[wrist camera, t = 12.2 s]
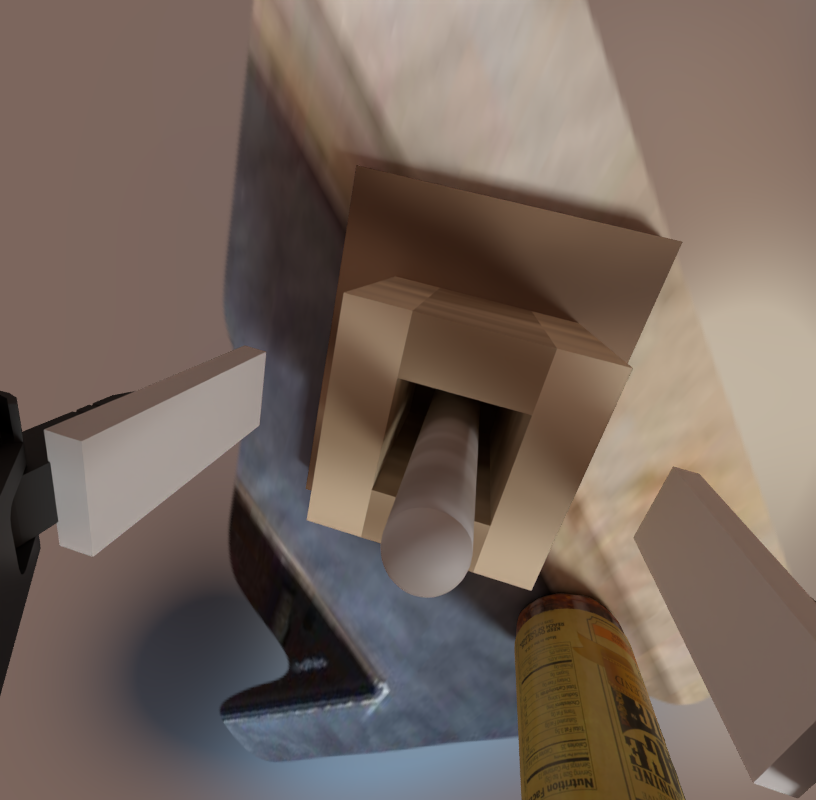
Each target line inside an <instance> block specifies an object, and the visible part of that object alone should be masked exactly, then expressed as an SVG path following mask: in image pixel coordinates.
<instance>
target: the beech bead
mask: <svg viewBox="0 0 816 800" xmlns="http://www.w3.org/2000/svg"><path fill="white" fill-rule="evenodd" d="M632 369H633V368H632V367H631V366H629V365H628V364H627V363H626V362H625V361H623V360H622V359H621V358H620V357H619V356H617V355H616V354H615V353H614V352H613V351H611V350H610V349H609V348H608V347H607V346H605V345H604V344H603V343H602V342H601V341H599V340H598V339H597V338H596V337H595V336H593V335H592V334H591V333H590V332H589V331H587V330H586V329H585V328H584V327H583V326H581V325H580V324H579V323H576V322H572V321H568V320H564V319H560V318H556V317H553V316H549V315H545V314H541V313H537V312H533V311H529V310H525V309H521V308H517V307H513V306H509V305H506V304H502V303H498V302H494V301H490V300H486V299H482V298H478V297H474V296H470V295H466V294H462V293H459V292H455V291H451V290H447V289H443V288H439V287H435V286H431V285H427V284H423V283H419V282H415V281H412V280H408V279H404V278H400V277H392V278H389V279H386V280H383V281H379V282H376V283H373V284H370V285H367V286H363V287H360V288H357V289H354V290H350V291H347V292H344V294H343V300H342V306H341V312H340V318H339V325H338V331H337V337H336V343H335V349H334V355H333V362H332V368H331V374H330V380H329V386H328V393H327V399H326V405H325V411H324V417H323V424H322V430H321V436H320V442H319V448H318V454H317V461H316V467H315V473H314V479H313V485H312V492H311V498H310V504H309V510H308V516H307V520H308V521H311V522H314V523H318V524H321V525H324V526H327V527H330V528H333V529H337V530H340V531H343V532H346V533H349V534H353V535H356V536H359V537H362V538H365V539H368V540H372V541H375V542H378V543H381V539H382V534H383V531H384V528H385V525H386V523H387V520H388V517H389V515H390V512H391V509H392V506H393V504H394V501H395V498H396V496H397V493H398V490H399V487H400V485H401V482H402V479H403V477H404V474H405V471H406V469H407V466H408V463H409V460H410V458H411V455H412V452H413V450H414V447H415V444H416V441H417V439H418V436H419V433H420V431H421V428H422V425H423V423H424V420H425V417H426V416H422V415H419V414H415V413H412V412H409V411H410V407H411V403H412V399H413V395H414V391H415V387H416V383H418V384H421V385H425V386H428V387H432V388H436V389H439V390H443V391H446V392H450V393H454V394H457V395H461V396H464V397H468V398H472V399H475V400H479V401H482V402H486V403H490V404H493V405H497V406H499V409H498V412H497V415H496V418H495V421H494V424H493V427H492V429H491V432H490V435H489V434H486V433H482V432H479V438H478V458H477V478H476V498H475V518H474V538H473V554H472V559H471V564H470V567H469V569H468V571H470V572H473V573H476V574H480V575H483V576H486V577H489V578H492V579H495V580H499V581H502V582H505V583H508V584H511V585H514V586H518V587H521V588H524V589H527V590H530V591H531V590H532V588H533V586H534V584H535V582H536V580H537V577H538V575H539V573H540V571H541V569H542V566H543V564H544V562H545V560H546V558H547V555H548V553H549V551H550V549H551V547H552V544H553V542H554V540H555V538H556V536H557V534H558V531H559V529H560V527H561V525H562V523H563V520H564V518H565V516H566V514H567V512H568V509H569V507H570V505H571V503H572V501H573V499H574V496H575V494H576V492H577V490H578V488H579V485H580V483H581V481H582V479H583V477H584V474H585V472H586V470H587V468H588V466H589V463H590V461H591V459H592V457H593V455H594V453H595V450H596V448H597V446H598V444H599V442H600V439H601V437H602V435H603V433H604V431H605V428H606V426H607V424H608V422H609V420H610V418H611V415H612V413H613V411H614V409H615V407H616V404H617V402H618V400H619V398H620V396H621V393H622V391H623V389H624V387H625V385H626V382H627V380H628V378H629V376H630V374H631V372H632Z"/></svg>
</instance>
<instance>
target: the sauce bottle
mask: <svg viewBox="0 0 816 800" xmlns="http://www.w3.org/2000/svg"><path fill="white" fill-rule="evenodd" d="M515 669H516V690H517V712H518V734H519V756H520V777H521V796H522V800H686V799H685V797H684V794H683V791H682V788H681V786H680V783H679V780H678V776H677V773H676V771H675V768H674V766H673V764H672V761H671V758H670V755H669V752H668V749H667V747H666V743H665V739H664V737H663V735H662V732H661V729H660V727H659V724H658V722H657V718H656V716H655V713H654V710H653V707H652V704H651V702H650V699H649V696H648V693H647V690H646V687H645V685H644V682H643V679H642V676H641V674H640V671H639V668H638V665H637V662H636V659H635V657H634V654H633V651H632V648H631V645H630V643H629V641H628V639H627V637H626V636H625V635H624V632H623V630H622V628H621V626H620V624H619V622H618V621H617V620H616V619H615V617H614V616H613V615H612V614H611V613H610V612H609V611H608V610H607V609H606V608H605V607H603V606H602V605H600V604H599V603H598V602H597V601H595V600H594V599H592V598H590V597H587V596H584V595H572V594H562V593H557V594H553V595H547V596H544V597H541V598H538V599H537V600H535V601H534V602H533V603H530V604H528V606H527V607H526V608H525V609H523V610H522V611H521V613H520V615H519V618H518V622H517V629H516V640H515Z"/></svg>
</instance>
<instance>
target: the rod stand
mask: <svg viewBox="0 0 816 800" xmlns="http://www.w3.org/2000/svg"><path fill="white" fill-rule="evenodd" d="M681 244H682V242H681V241H677V240H673V239H668V238H664V237H660V236H656V235H651V234H647V233H643V232H639V231H634V230H630V229H626V228H622V227H617V226H613V225H609V224H605V223H600V222H596V221H592V220H588V219H583V218H579V217H575V216H571V215H566V214H562V213H558V212H554V211H549V210H545V209H541V208H537V207H532V206H528V205H524V204H520V203H515V202H511V201H507V200H503V199H498V198H494V197H490V196H486V195H481V194H477V193H473V192H469V191H464V190H460V189H456V188H452V187H447V186H443V185H439V184H435V183H430V182H426V181H422V180H418V179H413V178H409V177H405V176H401V175H396V174H392V173H388V172H383V171H379V170H375V169H371V168H366V167H362V166H358V165H357V166H356V172H355V178H354V185H353V191H352V198H351V204H350V210H349V217H348V223H347V229H346V236H345V242H344V249H343V255H342V261H341V268H340V274H339V280H338V287H337V293H336V300H335V306H334V312H333V319H332V325H331V331H330V338H329V344H328V350H327V357H326V363H325V370H324V376H323V382H322V389H321V395H320V401H319V408H318V414H317V421H316V427H315V433H314V440H313V446H312V452H311V459H310V465H309V472H308V478H307V484H306V489H308V490H311V491H312V485H313V479H314V473H315V467H316V461H317V454H318V448H319V442H320V436H321V430H322V424H323V417H324V411H325V405H326V399H327V393H328V386H329V380H330V374H331V368H332V362H333V355H334V349H335V343H336V337H337V331H338V325H339V318H340V312H341V306H342V300H343V294H344V292H347V291H350V290H354V289H357V288H360V287H363V286H367V285H370V284H373V283H376V282H379V281H383V280H386V279H389V278H392V277H400V278H404V279H408V280H412V281H415V282H419V283H423V284H427V285H431V286H435V287H439V288H443V289H447V290H451V291H455V292H459V293H462V294H466V295H470V296H474V297H478V298H482V299H486V300H490V301H494V302H498V303H502V304H506V305H509V306H513V307H517V308H521V309H525V310H529V311H533V312H537V313H541V314H545V315H549V316H553V317H556V318H560V319H564V320H568V321H572V322H576V323H579V324H580V325H581V326H583V327H584V328H585V329H586V330H587V331H589V332H590V333H591V334H592V335H593V336H595V337H596V338H597V339H598V340H599V341H601V342H602V343H603V344H604V345H605V346H607V347H608V348H609V349H610V350H611V351H613V352H614V353H615V354H616V355H617V356H619V357H620V358H621V359H622V360H623V361H625V362H626V363H627V364H628V361H629V359H630V357H631V355H632V353H633V350H634V348H635V346H636V344H637V342H638V339H639V337H640V335H641V333H642V330H643V328H644V326H645V324H646V322H647V319H648V317H649V315H650V313H651V311H652V308H653V306H654V304H655V302H656V299H657V297H658V295H659V293H660V291H661V288H662V286H663V284H664V282H665V279H666V277H667V275H668V273H669V271H670V268H671V266H672V264H673V262H674V260H675V257H676V255H677V253H678V251H679V248H680V246H681ZM498 409H499V406H497V405H493V404H490V403H486V402H482V401H479V400H475V399H472V398H468V397H464V396H461V395H457V394H454V393H450V392H446V391H443V390H439V389H436V388H432V387H428V386H425V385H421V384H418V383H416V387H415V391H414V395H413V399H412V403H411V407H410V411H409V412H412V413H415V414H419V415H422V416H426V417H425V420H424V423H423V425H422V428H421V431H420V433H419V436H418V439H417V441H416V444H415V447H414V450H413V452H412V455H411V458H410V460H409V463H408V466H407V469H406V471H405V474H404V477H403V479H402V482H401V485H400V487H399V490H398V493H397V496H396V498H395V501H394V504H393V506H392V509H391V512H390V515H389V517H388V520H387V523H386V525H385V528H384V531H383V534H382V539H381V556H382V561H383V564H384V567H385V569H386V572H387V573H388V575H389V577H390V578H391V579H392V580H393V582H394V583H395V584H396V585H397V586H398V587H400V588H401V589H402V590H404V591H405V592H407V593H409V594H412V595H414V596H419V597H436V596H440V595H443V594H445V593H447V592H449V591H451V590H452V589H454V588H455V587H456V586H457V585H458V584H459V583H460V582H461V581H462V580H463V579H464V577H465V575H466V573H467V571H468V569H469V567H470V564H471V559H472V554H473V538H474V518H475V498H476V478H477V458H478V438H479V432H482V433H486V434H489V435H490V432H491V429H492V427H493V424H494V421H495V418H496V415H497V412H498Z"/></svg>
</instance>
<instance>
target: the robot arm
mask: <svg viewBox="0 0 816 800" xmlns="http://www.w3.org/2000/svg"><path fill="white" fill-rule="evenodd" d="M265 359H266V352H265V351H262V350H258V349H255V348H251V347H248V346H242V347H240V348H238V349H235V350H233V351H230V352H228V353H226V354H223V355H221V356H219V357H216V358H214V359H211V360H209V361H207V362H205V363H202V364H199V365H197V366H195V367H192V368H190V369H188V370H185V371H183V372H180V373H178V374H175V375H173V376H171V377H168V378H166V379H164V380H161V381H159V382H156V383H154V384H152V385H149V386H147V387H144V388H142V389H140V390H138V391H133V392H128V393H123V394H117V395H112V396H110V397H107V398H105V399H103V400H100V401H97V402H95V403H93V405H92V406H91V405H87V406H85V407H83V408H80V409H78V410H77V411H76V412H70V413H68V414H65V415H63V416H60V417H58V418H55V419H53V420H50V421H48V422H46V423H43V424H41V425H38V426H35V427H33V428H31V429H28V430H26V431H23V432H22V429H21V422H20V416H19V410H18V404H17V398H16V397H14V396H13V395H11V394H10V393H7V392H3V391H0V694H1V691H2V687H3V684H4V680H5V676H6V673H7V669H8V665H9V662H10V658H11V654H12V650H13V647H14V643H15V640H16V636H17V632H18V629H19V625H20V621H21V618H22V614H23V610H24V606H25V603H26V599H27V596H28V592H29V588H30V585H31V581H32V577H33V573H34V570H35V566H36V562H37V559H38V555H39V552H40V539H39V534H40V533H42V532H43V531H45V530H46V529H48V528H50V527H51V526H52V525H54V524H56V523H57V529H58V536H59V543H60V546H63V547H66V548H69V549H72V550H75V551H77V552H81V553H83V554H86V555H89V556H92V557H93V556H94V555H96V554H97V553H98V552H100V551H101V550H102V549H103V548H105V547H106V546H107V545H108V544H110V543H111V542H112V541H113V540H115V539H116V538H117V537H119V536H120V535H121V534H122V533H124V532H125V531H126V530H127V529H129V528H130V527H131V526H132V525H134V524H135V523H136V522H138V521H139V520H140V519H141V518H143V517H144V516H145V515H146V514H148V513H149V512H150V511H152V510H153V509H154V508H155V507H157V506H158V505H159V504H160V503H162V502H163V501H164V500H165V499H167V498H168V497H169V496H170V495H172V494H173V493H174V492H175V491H177V490H178V489H179V488H181V487H182V486H183V485H184V484H186V483H187V482H188V481H189V480H191V479H192V478H193V477H195V476H196V475H197V474H198V473H200V472H201V471H202V470H203V469H204V468H206V467H207V466H208V465H210V464H211V463H212V462H213V461H215V460H216V459H217V458H219V457H220V456H221V455H222V454H224V453H225V452H226V451H227V450H229V449H230V448H231V447H233V446H234V445H235V444H236V443H238V442H239V441H240V440H241V439H243V438H244V437H245V436H246V435H248V434H249V433H250V432H251V431H253V430H254V429H255V428H257V427H258V426H259V424H260V413H261V402H262V392H263V381H264V370H265ZM634 539H635V541H636V543H637V545H638V548H639V550H640V552H641V554H642V556H643V558H644V560H645V562H646V564H647V566H648V568H649V570H650V572H651V574H652V576H653V578H654V580H655V582H656V585H657V587H658V589H659V591H660V593H661V595H662V597H663V599H664V601H665V603H666V605H667V607H668V609H669V611H670V613H671V615H672V617H673V619H674V621H675V624H676V626H677V628H678V630H679V632H680V634H681V636H682V638H683V640H684V642H685V644H686V646H687V648H688V650H689V652H690V654H691V656H692V658H693V661H694V663H695V665H696V667H697V669H698V671H699V673H700V675H701V677H702V679H703V681H704V683H705V685H706V687H707V689H708V691H709V693H710V695H711V697H712V700H713V702H714V704H715V706H716V708H717V710H718V712H719V714H720V716H721V718H722V720H723V722H724V724H725V726H726V728H727V730H728V732H729V734H730V737H731V739H732V740H733V743H734V745H735V746H736V749H737V751H738V753H739V755H740V757H741V759H742V761H743V763H744V765H745V767H746V769H747V771H748V773H749V776H750V778H751V780H752V782H753V783H755V784H757V785H761V786H764V787H766V788H769V789H772V790H775V791H778V792H781V793H784V794H787V795H790V796H792V797H796V798H799V797H800V796H801V795H802V794H804V793H805V792H806V791H807V790H808V789H809V788H810V787H811V786H812V785H814V784H815V783H816V601H815V600H814V599H813V598H811V597H810V596H809V595H808V594H807V593H806V592H805V590H804V589H803V588H802V587H801V586H800V585H799V584H798V583H797V581H796V580H795V579H794V578H793V577H792V576H791V575H790V574H789V573H788V572H787V570H786V569H785V568H784V567H783V566H782V565H781V564H780V563H779V562H778V560H777V559H776V558H775V557H774V556H773V555H772V554H771V553H770V552H769V551H768V549H767V548H766V547H765V546H764V545H763V544H762V543H761V542H760V541H759V539H758V538H757V537H756V536H755V535H754V534H753V533H752V532H751V531H750V530H749V528H748V527H747V526H746V525H745V524H744V523H743V522H742V521H741V520H740V518H739V517H738V516H737V515H736V514H735V513H734V512H733V511H732V510H731V509H730V507H729V506H728V505H727V504H726V503H725V502H724V501H723V500H722V499H721V497H720V496H719V495H718V494H717V493H716V492H715V491H714V490H713V489H712V488H711V486H710V485H709V484H708V483H707V482H706V481H705V480H704V479H703V478H702V476H701V475H700V474H698V473H694V472H690V471H687V470H683V469H680V468H676V467H673V468H672V470H671V471H670V473H669V475H668V477H667V479H666V480H665V482H664V484H663V486H662V487H661V489H660V491H659V493H658V495H657V496H656V498H655V500H654V502H653V504H652V505H651V507H650V509H649V511H648V512H647V514H646V516H645V518H644V520H643V521H642V523H641V525H640V527H639V529H638V530H637V532H636V534H635V536H634Z"/></svg>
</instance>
